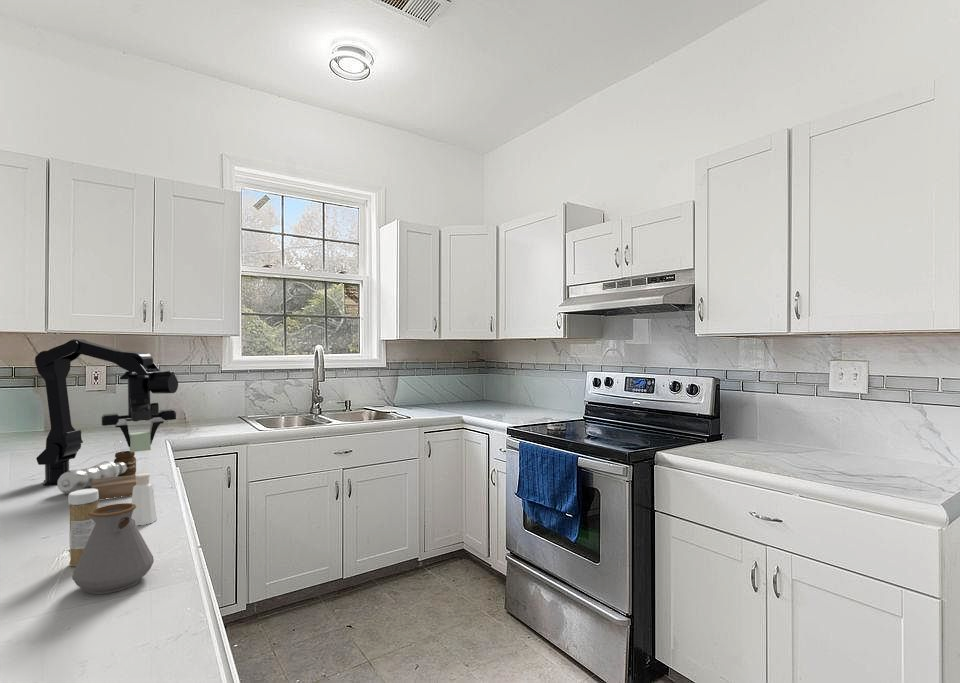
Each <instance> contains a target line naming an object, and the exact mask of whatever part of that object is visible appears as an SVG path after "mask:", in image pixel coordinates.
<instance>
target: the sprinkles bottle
mask: <svg viewBox="0 0 960 683" xmlns="http://www.w3.org/2000/svg"><path fill="white" fill-rule="evenodd" d="M67 495H68V497H67V498H68V499H67V500H68V502H67V503H68V504H69V505H68V506H69V552H70V553H69V554H70V556H69V557H70V559H69V560H70V561H69V565H70V566H71V567H76V566H77V563H78V561H79V559H80V557H81V555H82V552H83V550H84V548H85V546H86V544H87V541H88V539H89V537H90V535H91V533H92V531H93V528H94V526H95V524H96V523H95V522H94V521H93V519H92V518H91V517H90V516H89V515H88V513H89V512H91V511H92V510H94V509H97V508H99V507H98V506H99V505H98V502H99V501H98V499H99V494H98V490H97V489H91V488H85V489H82V490H77V491H74V492H71V493H69V494H67Z"/></svg>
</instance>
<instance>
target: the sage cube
mask: <svg viewBox="0 0 960 683" xmlns="http://www.w3.org/2000/svg"><path fill="white" fill-rule="evenodd" d="M129 437H130V447H129V451H130V452H134V453H136V452H146V451H151V450H152V448H151V445H152V444H151V441H150V430H149V431H147V430H146V431H138V432H129Z"/></svg>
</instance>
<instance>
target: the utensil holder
mask: <svg viewBox="0 0 960 683" xmlns="http://www.w3.org/2000/svg"><path fill="white" fill-rule="evenodd" d="M118 444H119V445H118ZM113 445H114V446H113V447H114V450H115V454H114V458H115V459H114V460H113V462H114V463H118V462H123V463H125V464H126V466H127V469H126V471H125V472H124V473H122V474H120V475H118V476H117V477H119V476H127V475H135V474H136V473H137V459H136V456H135V455H136V452H130V450H125V449H124V447H125V446H121V445H122V442H119V440H116V441H115V442H114V443H113ZM118 446H120V448H118ZM124 450H125V451H124Z"/></svg>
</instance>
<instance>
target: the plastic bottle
mask: <svg viewBox="0 0 960 683" xmlns="http://www.w3.org/2000/svg"><path fill="white" fill-rule="evenodd" d="M126 469H127V466H126V464H125V463H123V462H118V463H114V461H110V460H107V461H102V462H100V463H98V464H95V465H92V466H90V467H86V468H82V469H71V470H69V471H68V472H65V473H63V474H62V475H61V476H60V477H59V479H58V482H57V484H56V485H57V489H58V490H59V491H60V492H61V493H64V494H65V495H69V493H71V492H74V491H77V490H82V489H88V488H89V487H90V488H91V486H92V481H93V480H96V479H104V478H111V477H119V476H118V475H120V474H122V473H124V472H125V471H126Z"/></svg>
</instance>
